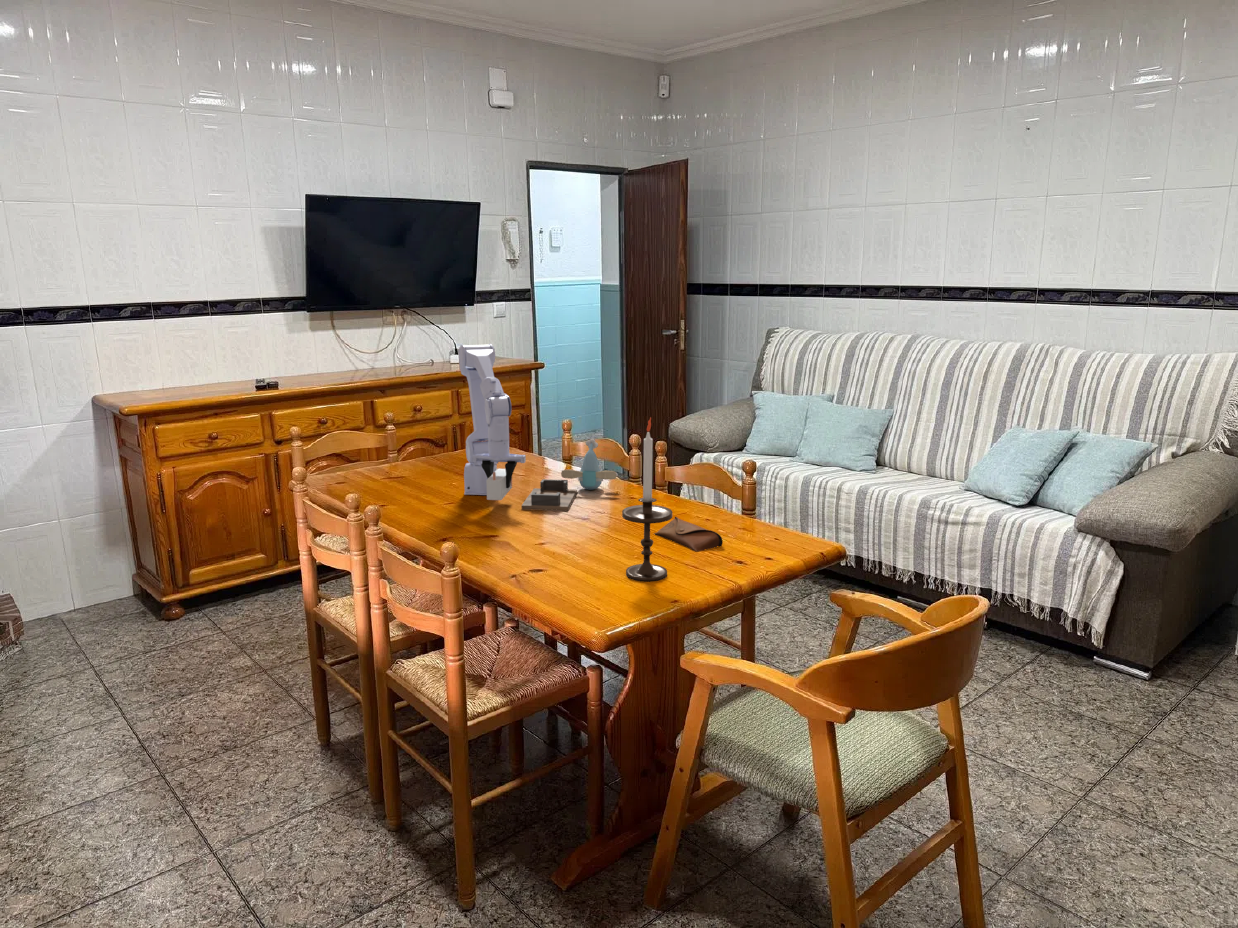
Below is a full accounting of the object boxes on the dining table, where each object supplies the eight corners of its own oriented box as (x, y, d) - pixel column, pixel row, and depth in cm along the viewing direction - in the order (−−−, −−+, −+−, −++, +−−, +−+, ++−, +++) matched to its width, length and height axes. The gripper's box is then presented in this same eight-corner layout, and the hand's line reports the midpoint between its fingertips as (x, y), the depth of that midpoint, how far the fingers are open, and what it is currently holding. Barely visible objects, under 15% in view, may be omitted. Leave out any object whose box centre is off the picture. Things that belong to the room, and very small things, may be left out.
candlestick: (647, 562, 196) (649, 411, 189) (681, 575, 189) (684, 418, 181) (611, 573, 190) (612, 417, 182) (645, 587, 182) (647, 424, 174)
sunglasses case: (650, 533, 218) (661, 509, 219) (668, 542, 222) (679, 519, 223) (697, 552, 204) (708, 526, 205) (715, 561, 208) (726, 536, 209)
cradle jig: (567, 510, 238) (567, 496, 237) (521, 509, 239) (521, 494, 238) (576, 493, 257) (576, 479, 256) (534, 492, 258) (533, 478, 257)
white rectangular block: (501, 500, 234) (500, 473, 232) (486, 499, 234) (486, 473, 233) (512, 487, 248) (511, 462, 246) (498, 486, 248) (497, 461, 246)
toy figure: (619, 485, 266) (619, 438, 263) (616, 494, 256) (616, 445, 252) (566, 484, 268) (565, 437, 264) (560, 492, 257) (560, 443, 254)
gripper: (469, 441, 235) (471, 489, 238) (521, 443, 233) (522, 491, 237) (475, 436, 241) (477, 483, 245) (526, 438, 240) (527, 484, 243)
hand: (500, 487), depth 241 cm, fingers closed on white rectangular block, 4 cm apart
